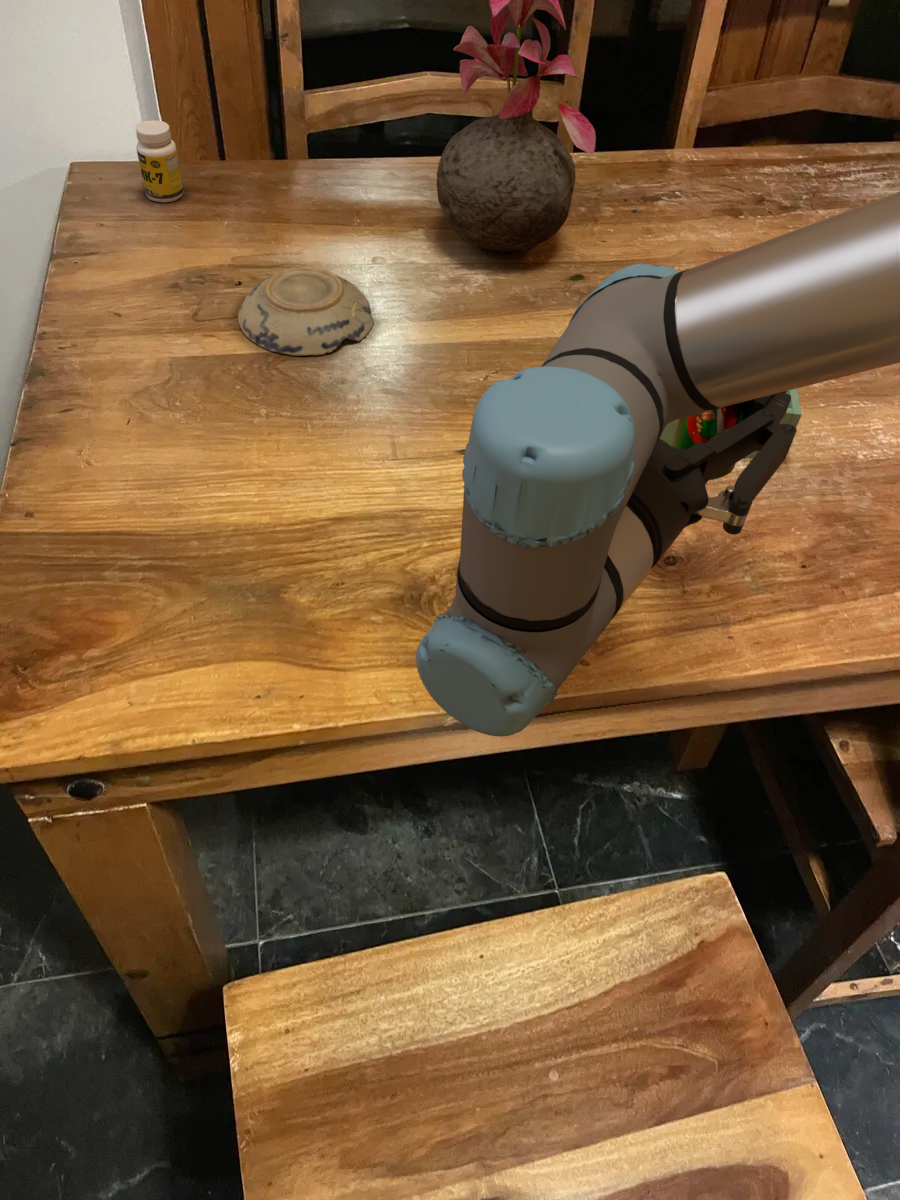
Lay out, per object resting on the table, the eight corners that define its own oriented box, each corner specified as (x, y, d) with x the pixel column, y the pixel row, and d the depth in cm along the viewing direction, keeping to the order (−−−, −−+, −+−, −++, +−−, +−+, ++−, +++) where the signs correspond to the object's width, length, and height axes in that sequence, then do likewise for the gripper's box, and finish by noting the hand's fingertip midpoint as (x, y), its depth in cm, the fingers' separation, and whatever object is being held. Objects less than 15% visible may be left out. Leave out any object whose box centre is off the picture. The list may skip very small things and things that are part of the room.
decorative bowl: (345, 370, 97) (393, 294, 107) (343, 340, 95) (393, 265, 104) (214, 340, 100) (273, 269, 109) (208, 310, 97) (269, 239, 106)
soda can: (709, 435, 75) (752, 303, 66) (746, 475, 72) (796, 342, 63) (656, 450, 74) (692, 317, 65) (691, 491, 71) (735, 357, 62)
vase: (437, 203, 121) (447, -73, 98) (571, 212, 121) (613, -62, 98) (431, 273, 110) (441, -20, 87) (578, 282, 110) (626, -8, 87)
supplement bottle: (138, 197, 119) (123, 129, 112) (161, 182, 121) (148, 115, 115) (169, 207, 117) (156, 138, 111) (191, 191, 120) (180, 124, 114)
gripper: (478, 513, 64) (637, 357, 77) (719, 640, 58) (848, 446, 71) (487, 428, 58) (656, 274, 71) (755, 557, 52) (888, 363, 65)
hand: (752, 360), depth 71 cm, fingers closed on soda can, 5 cm apart
